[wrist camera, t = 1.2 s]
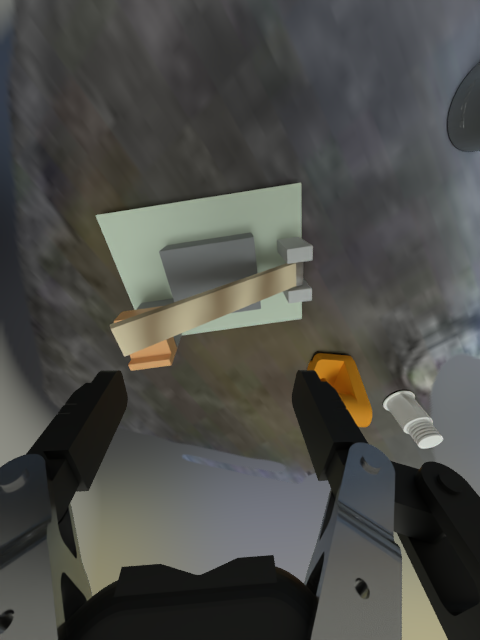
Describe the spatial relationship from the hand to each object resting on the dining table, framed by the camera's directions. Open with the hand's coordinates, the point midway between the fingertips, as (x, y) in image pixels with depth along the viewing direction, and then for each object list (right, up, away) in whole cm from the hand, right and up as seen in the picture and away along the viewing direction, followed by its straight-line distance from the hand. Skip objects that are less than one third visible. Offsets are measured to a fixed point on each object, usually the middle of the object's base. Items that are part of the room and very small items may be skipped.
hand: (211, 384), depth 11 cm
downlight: (+38, -16, +42) cm, 59 cm away
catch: (-11, +1, +21) cm, 24 cm away
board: (-3, +11, +25) cm, 28 cm away
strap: (-1, +6, +15) cm, 16 cm away
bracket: (+19, -8, +37) cm, 42 cm away
